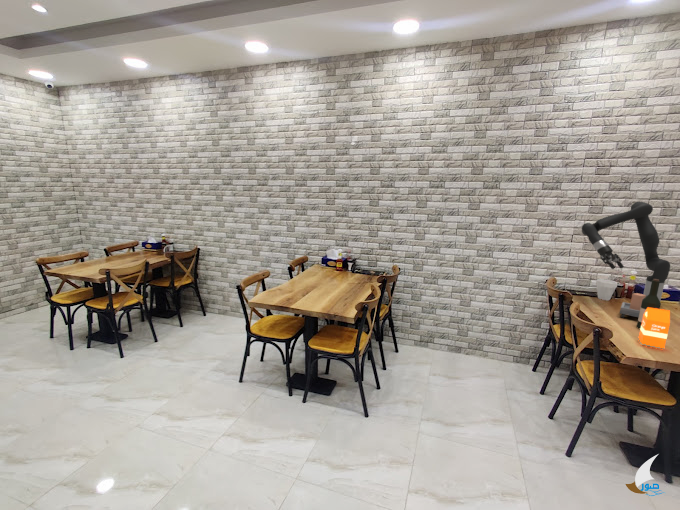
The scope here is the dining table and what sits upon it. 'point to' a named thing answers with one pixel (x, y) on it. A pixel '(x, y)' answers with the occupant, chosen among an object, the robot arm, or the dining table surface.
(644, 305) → the wine bottle
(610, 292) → the cup
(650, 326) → the orange juice
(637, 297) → the terracotta block
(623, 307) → the grey square tray
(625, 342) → the dining table surface
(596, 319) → the dining table surface
